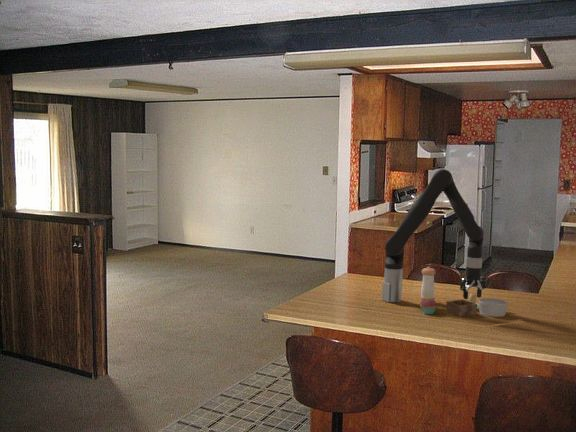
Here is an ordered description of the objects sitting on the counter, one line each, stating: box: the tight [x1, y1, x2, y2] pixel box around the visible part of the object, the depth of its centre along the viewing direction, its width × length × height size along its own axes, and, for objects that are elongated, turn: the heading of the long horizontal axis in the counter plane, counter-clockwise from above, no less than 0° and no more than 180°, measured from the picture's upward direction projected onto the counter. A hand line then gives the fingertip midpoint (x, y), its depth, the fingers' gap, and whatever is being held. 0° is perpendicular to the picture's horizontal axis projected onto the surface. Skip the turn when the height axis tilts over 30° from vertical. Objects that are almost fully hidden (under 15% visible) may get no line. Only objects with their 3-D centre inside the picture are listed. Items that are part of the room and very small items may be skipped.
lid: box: [468, 293, 479, 310], centre depth 304 cm, size 10×10×6 cm
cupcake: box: [419, 291, 439, 315], centre depth 291 cm, size 9×8×12 cm
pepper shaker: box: [419, 266, 437, 304], centre depth 311 cm, size 7×7×19 cm
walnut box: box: [445, 298, 478, 318], centre depth 291 cm, size 10×10×6 cm
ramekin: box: [478, 297, 509, 318], centre depth 292 cm, size 13×13×7 cm
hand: (472, 298), depth 304 cm, fingers open, 8 cm apart
